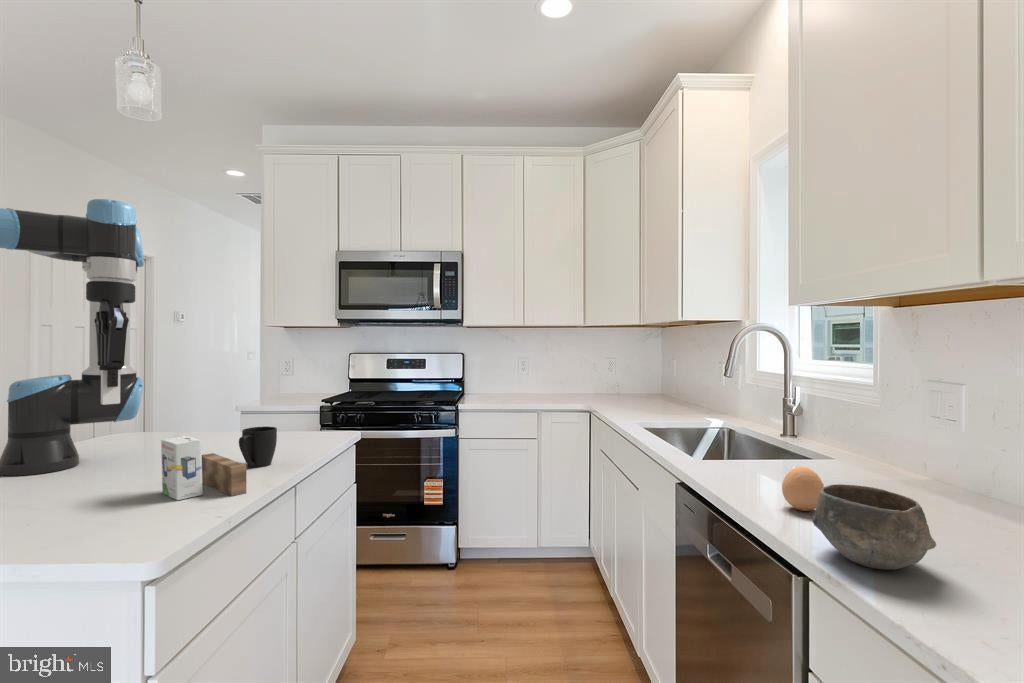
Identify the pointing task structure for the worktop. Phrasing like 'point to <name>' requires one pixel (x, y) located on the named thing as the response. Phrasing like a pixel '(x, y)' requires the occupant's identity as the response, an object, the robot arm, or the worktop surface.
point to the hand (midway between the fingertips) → (110, 403)
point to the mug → (258, 445)
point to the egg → (802, 488)
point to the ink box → (181, 467)
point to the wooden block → (224, 474)
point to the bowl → (873, 526)
